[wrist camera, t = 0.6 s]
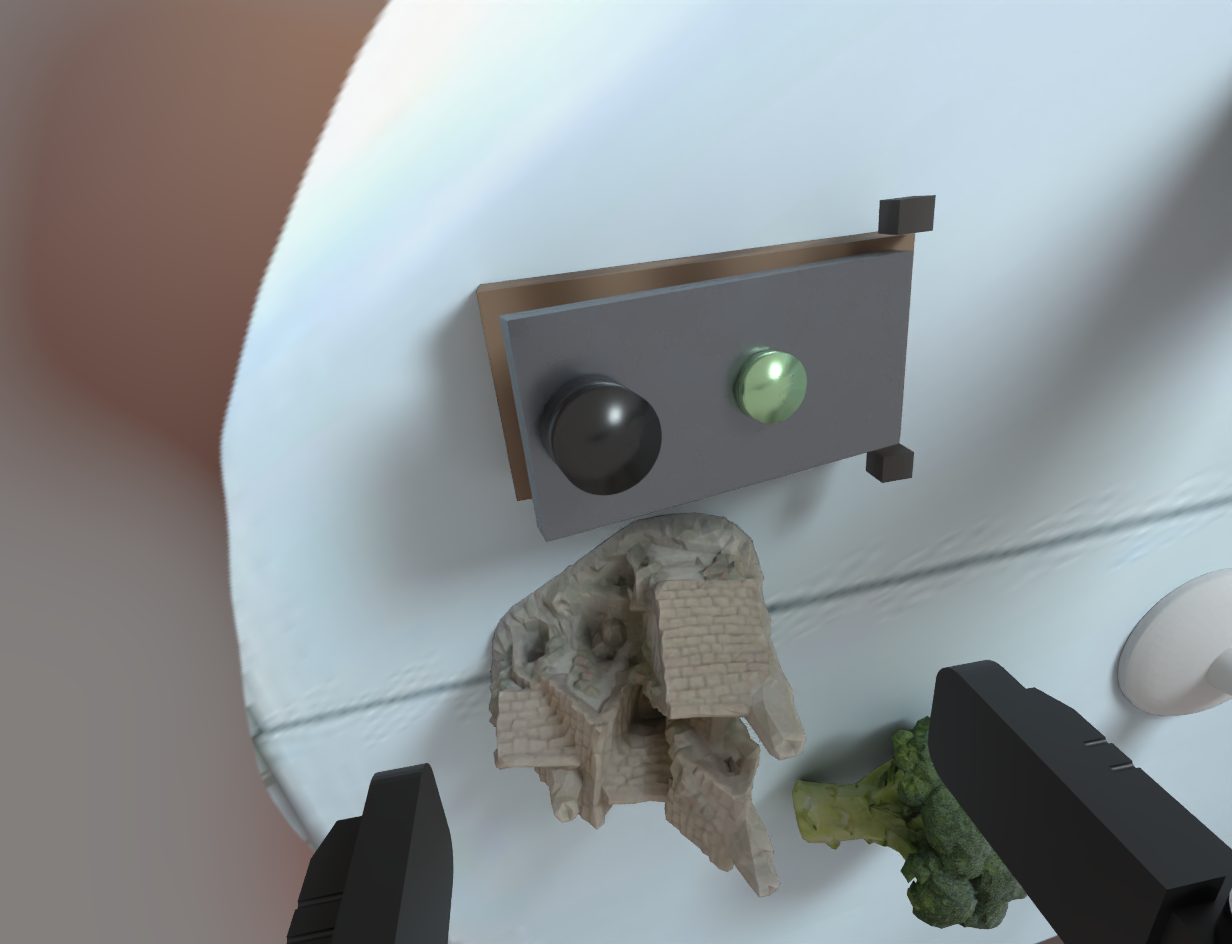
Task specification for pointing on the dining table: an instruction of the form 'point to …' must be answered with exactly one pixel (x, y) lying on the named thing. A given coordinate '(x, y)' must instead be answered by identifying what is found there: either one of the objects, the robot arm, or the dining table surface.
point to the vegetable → (915, 834)
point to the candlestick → (1182, 650)
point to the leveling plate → (706, 385)
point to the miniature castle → (651, 685)
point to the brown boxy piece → (559, 289)
